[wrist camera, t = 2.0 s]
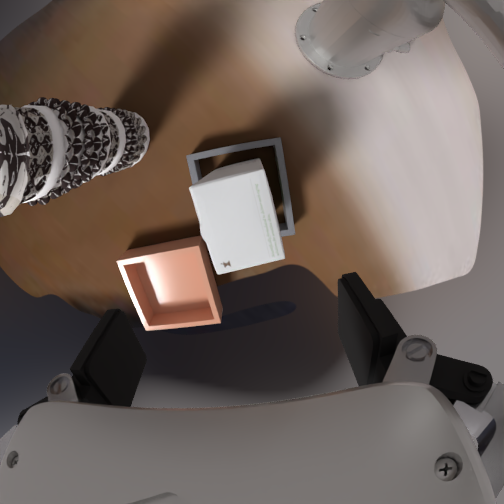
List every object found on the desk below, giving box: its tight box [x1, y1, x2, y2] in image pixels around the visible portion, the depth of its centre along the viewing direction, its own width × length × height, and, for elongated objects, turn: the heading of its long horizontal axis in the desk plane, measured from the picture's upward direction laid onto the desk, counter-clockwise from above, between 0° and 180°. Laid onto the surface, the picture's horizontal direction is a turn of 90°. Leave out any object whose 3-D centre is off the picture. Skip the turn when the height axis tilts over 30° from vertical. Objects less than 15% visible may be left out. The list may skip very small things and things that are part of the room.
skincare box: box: [189, 158, 285, 274], centre depth 29 cm, size 8×7×16 cm
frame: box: [186, 138, 295, 237], centre depth 35 cm, size 12×13×3 cm
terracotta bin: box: [117, 235, 223, 331], centre depth 40 cm, size 13×13×4 cm
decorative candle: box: [0, 97, 150, 217], centre depth 22 cm, size 9×9×25 cm
